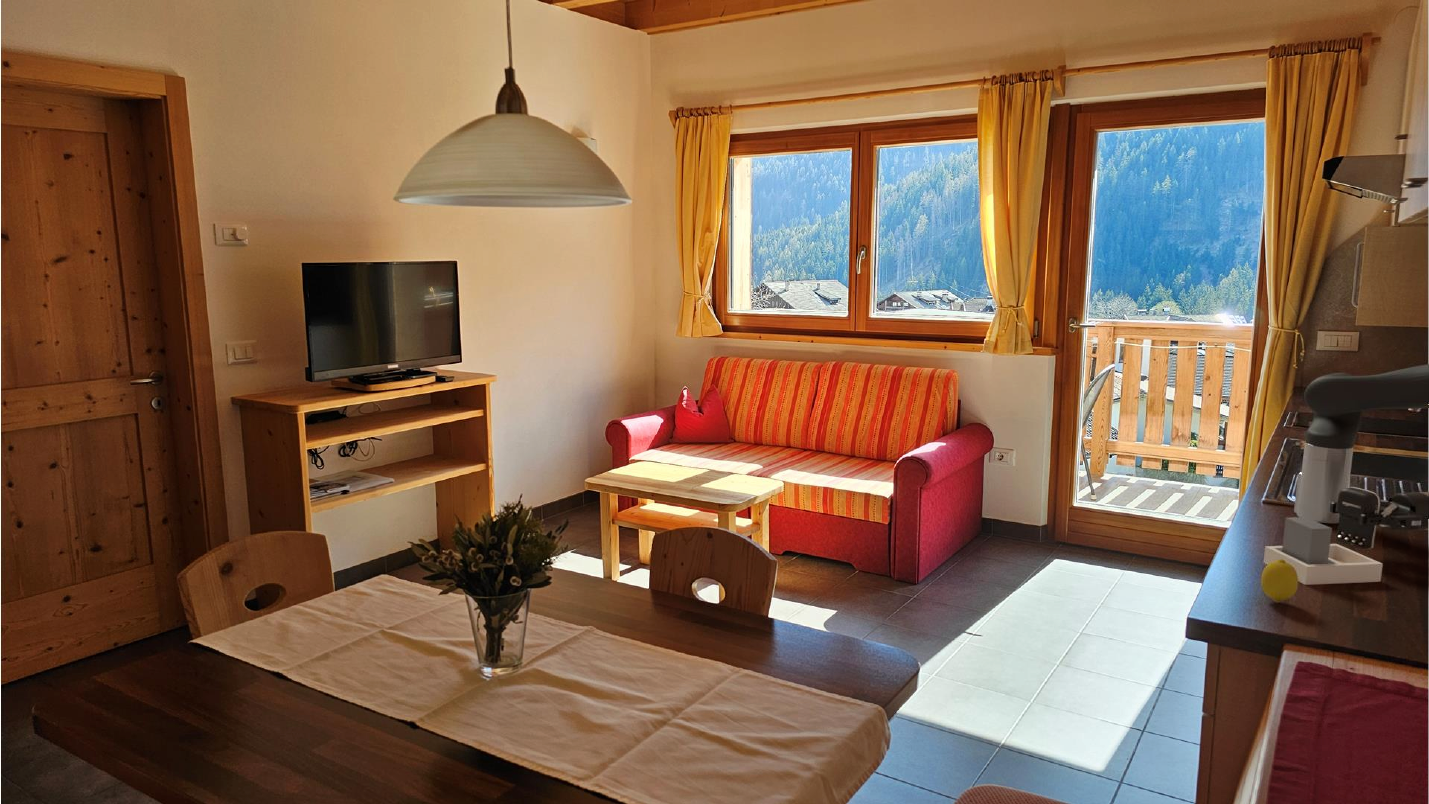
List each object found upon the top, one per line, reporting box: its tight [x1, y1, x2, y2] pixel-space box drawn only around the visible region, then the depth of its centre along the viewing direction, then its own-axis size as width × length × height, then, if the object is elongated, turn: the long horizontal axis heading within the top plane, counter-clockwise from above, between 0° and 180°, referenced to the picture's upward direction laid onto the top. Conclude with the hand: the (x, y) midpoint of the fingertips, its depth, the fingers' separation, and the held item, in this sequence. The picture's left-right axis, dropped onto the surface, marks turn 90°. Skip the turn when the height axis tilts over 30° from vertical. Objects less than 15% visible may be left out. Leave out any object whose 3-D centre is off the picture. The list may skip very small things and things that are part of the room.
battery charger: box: [1334, 486, 1382, 550], centre depth 188 cm, size 7×4×11 cm, turn 23°
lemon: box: [1260, 559, 1299, 604], centre depth 166 cm, size 6×6×8 cm
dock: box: [1263, 516, 1384, 586], centre depth 180 cm, size 11×15×10 cm
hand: (1346, 513), depth 187 cm, fingers closed on battery charger, 7 cm apart
